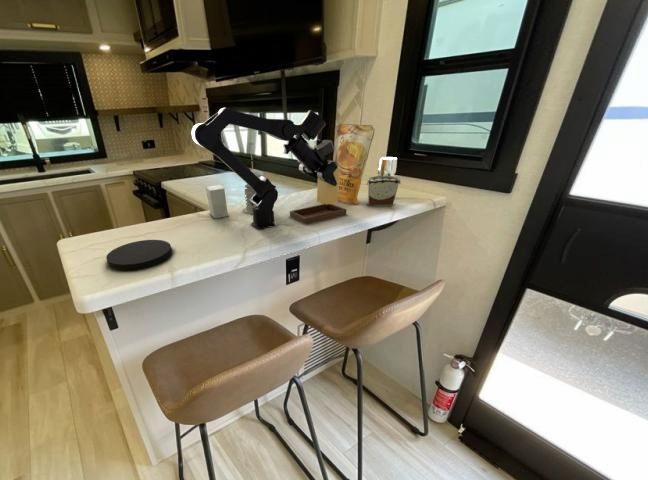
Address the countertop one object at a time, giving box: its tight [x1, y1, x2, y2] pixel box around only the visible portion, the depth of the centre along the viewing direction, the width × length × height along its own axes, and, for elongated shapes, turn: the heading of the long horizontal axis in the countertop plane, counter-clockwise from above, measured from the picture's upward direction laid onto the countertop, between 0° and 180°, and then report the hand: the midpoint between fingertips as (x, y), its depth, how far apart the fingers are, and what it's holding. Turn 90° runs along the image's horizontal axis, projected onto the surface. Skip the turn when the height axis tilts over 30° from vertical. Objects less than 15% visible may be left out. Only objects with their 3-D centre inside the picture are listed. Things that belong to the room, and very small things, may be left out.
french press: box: [243, 140, 265, 215], centre depth 118 cm, size 10×12×25 cm
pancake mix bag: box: [333, 123, 376, 205], centre depth 123 cm, size 7×19×28 cm, turn 27°
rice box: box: [316, 167, 340, 205], centre depth 110 cm, size 5×6×12 cm
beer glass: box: [377, 156, 398, 177], centre depth 129 cm, size 7×7×15 cm
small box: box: [205, 184, 229, 219], centre depth 120 cm, size 8×6×10 cm
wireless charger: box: [105, 239, 173, 272], centre depth 90 cm, size 18×18×2 cm
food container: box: [366, 175, 401, 207], centre depth 121 cm, size 12×6×10 cm, turn 84°
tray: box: [289, 203, 347, 225], centre depth 114 cm, size 18×11×2 cm, turn 117°
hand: (331, 183), depth 110 cm, fingers closed on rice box, 6 cm apart
